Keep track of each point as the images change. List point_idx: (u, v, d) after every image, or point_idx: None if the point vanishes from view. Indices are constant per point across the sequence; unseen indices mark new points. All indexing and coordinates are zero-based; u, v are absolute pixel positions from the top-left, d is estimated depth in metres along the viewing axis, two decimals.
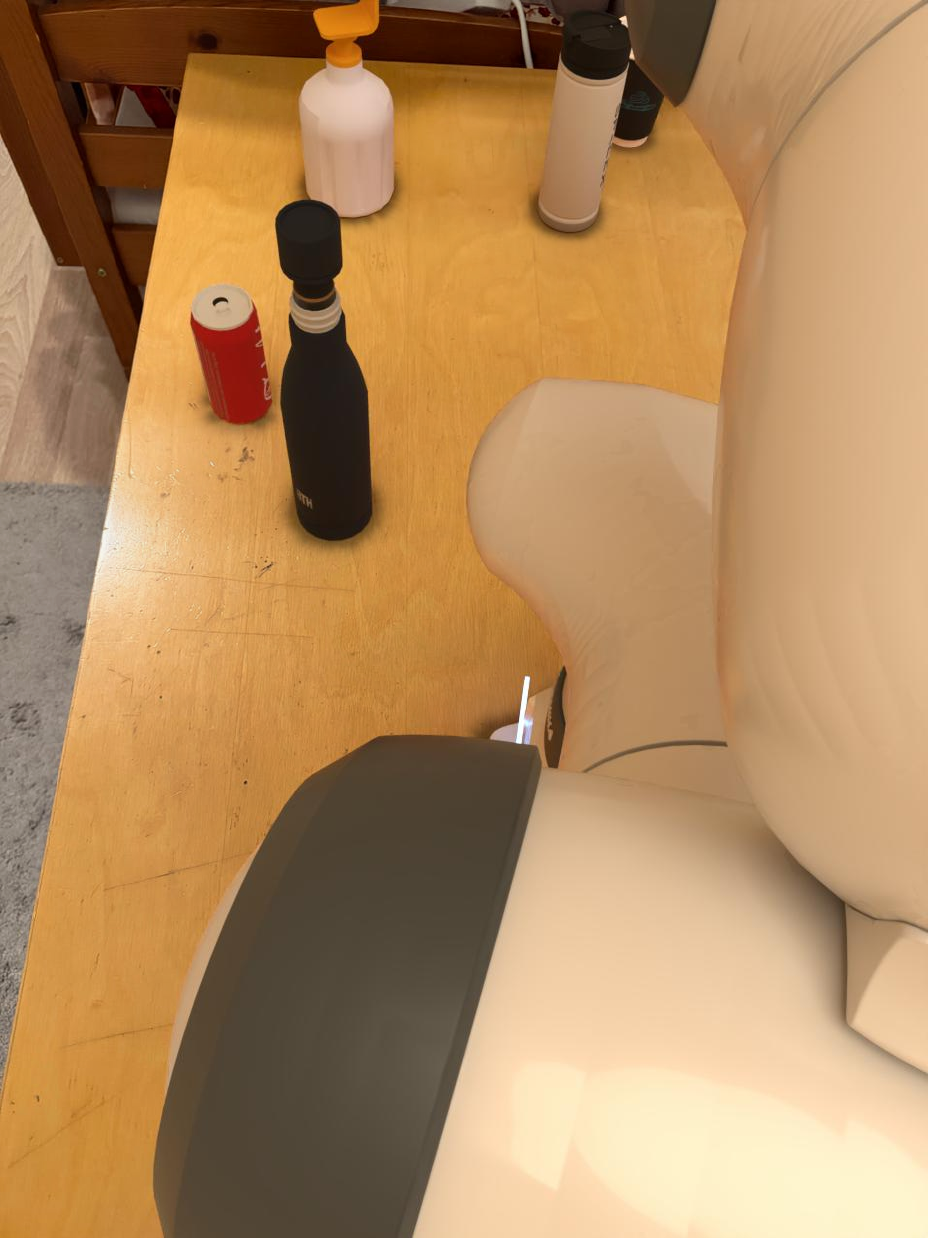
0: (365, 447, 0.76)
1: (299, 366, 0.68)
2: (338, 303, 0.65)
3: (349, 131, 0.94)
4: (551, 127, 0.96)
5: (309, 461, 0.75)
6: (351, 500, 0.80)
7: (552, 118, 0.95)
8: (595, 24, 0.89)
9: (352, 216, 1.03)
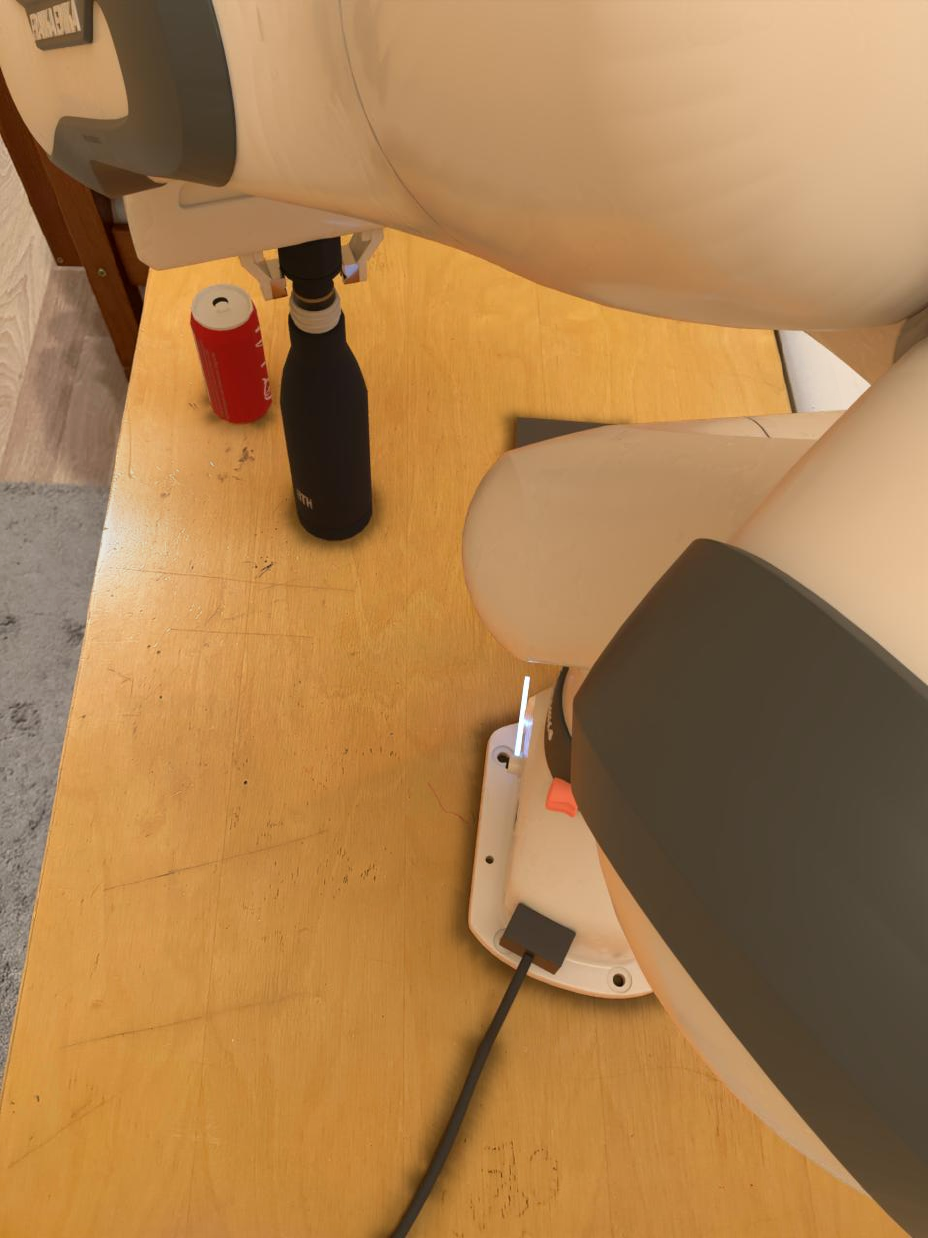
0: (365, 447, 0.76)
1: (298, 367, 0.68)
2: (338, 303, 0.65)
3: None
4: None
5: (309, 461, 0.75)
6: (351, 500, 0.80)
7: None
8: None
9: None
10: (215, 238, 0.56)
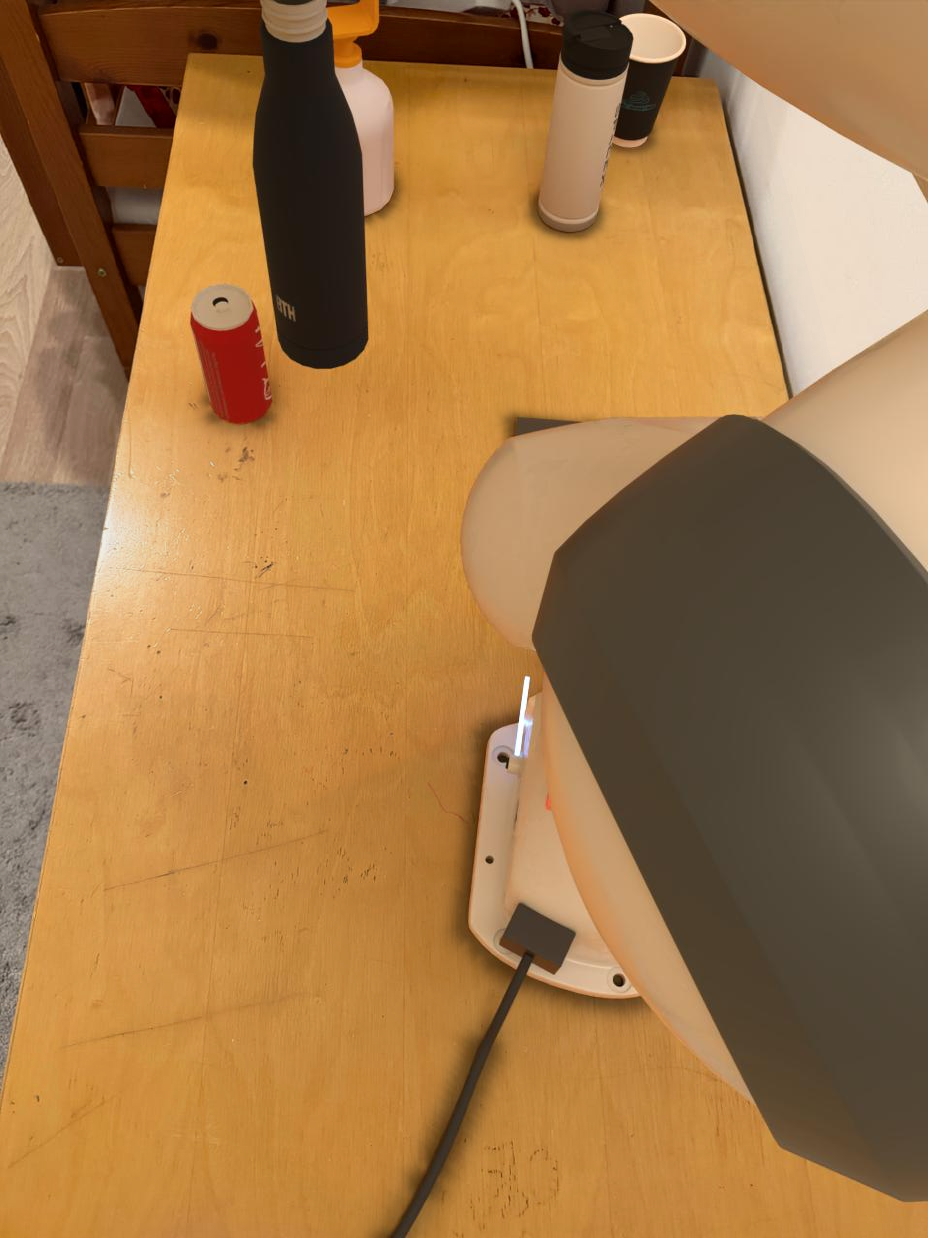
0: (359, 232, 0.62)
1: (274, 99, 0.54)
2: (323, 0, 0.51)
3: None
4: (551, 127, 0.96)
5: (289, 246, 0.61)
6: (343, 309, 0.66)
7: (552, 118, 0.95)
8: (595, 24, 0.89)
9: None
10: None
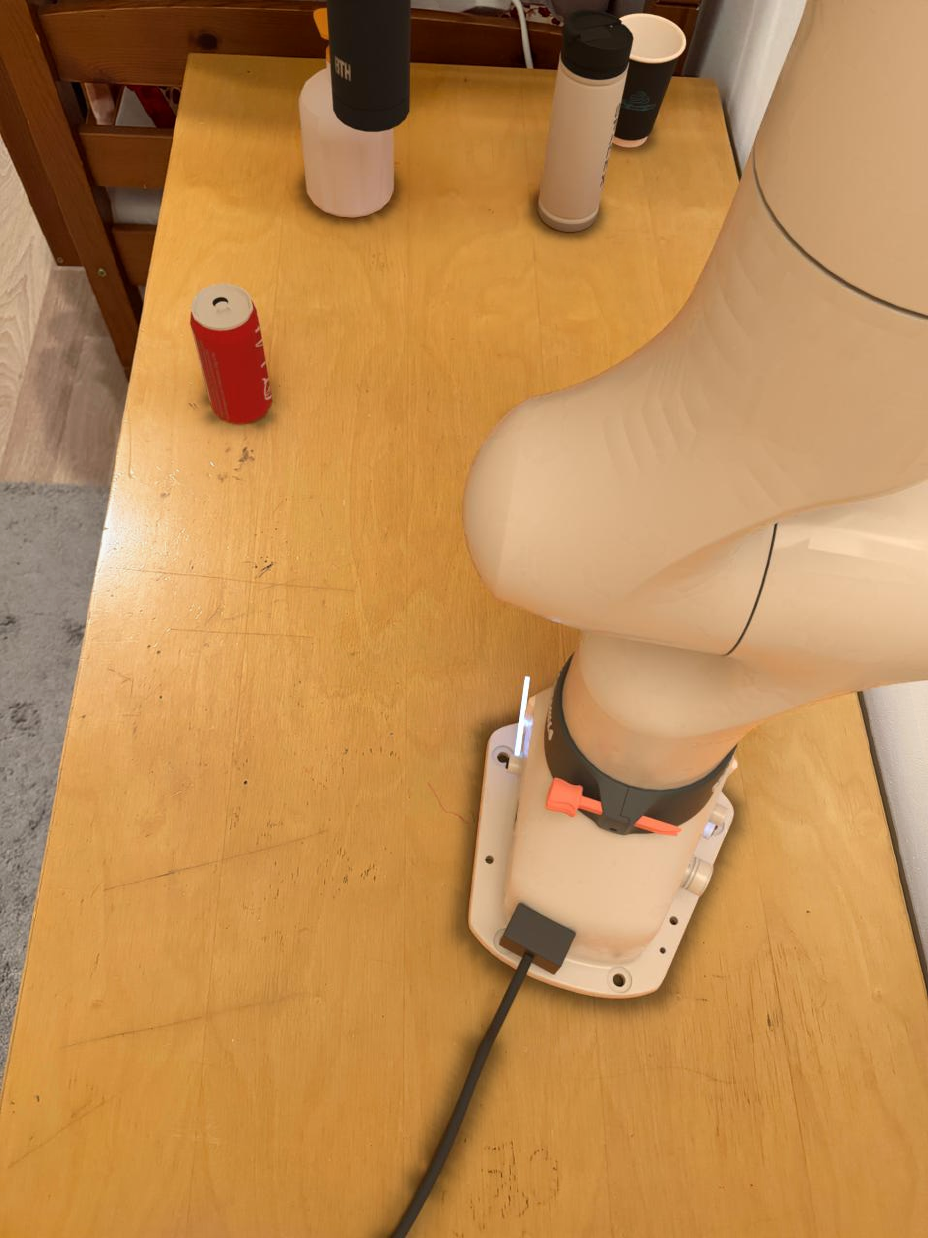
0: None
1: None
2: None
3: (349, 131, 0.94)
4: (551, 127, 0.96)
5: None
6: (390, 68, 0.78)
7: (552, 118, 0.95)
8: (595, 24, 0.89)
9: (352, 216, 1.03)
10: None
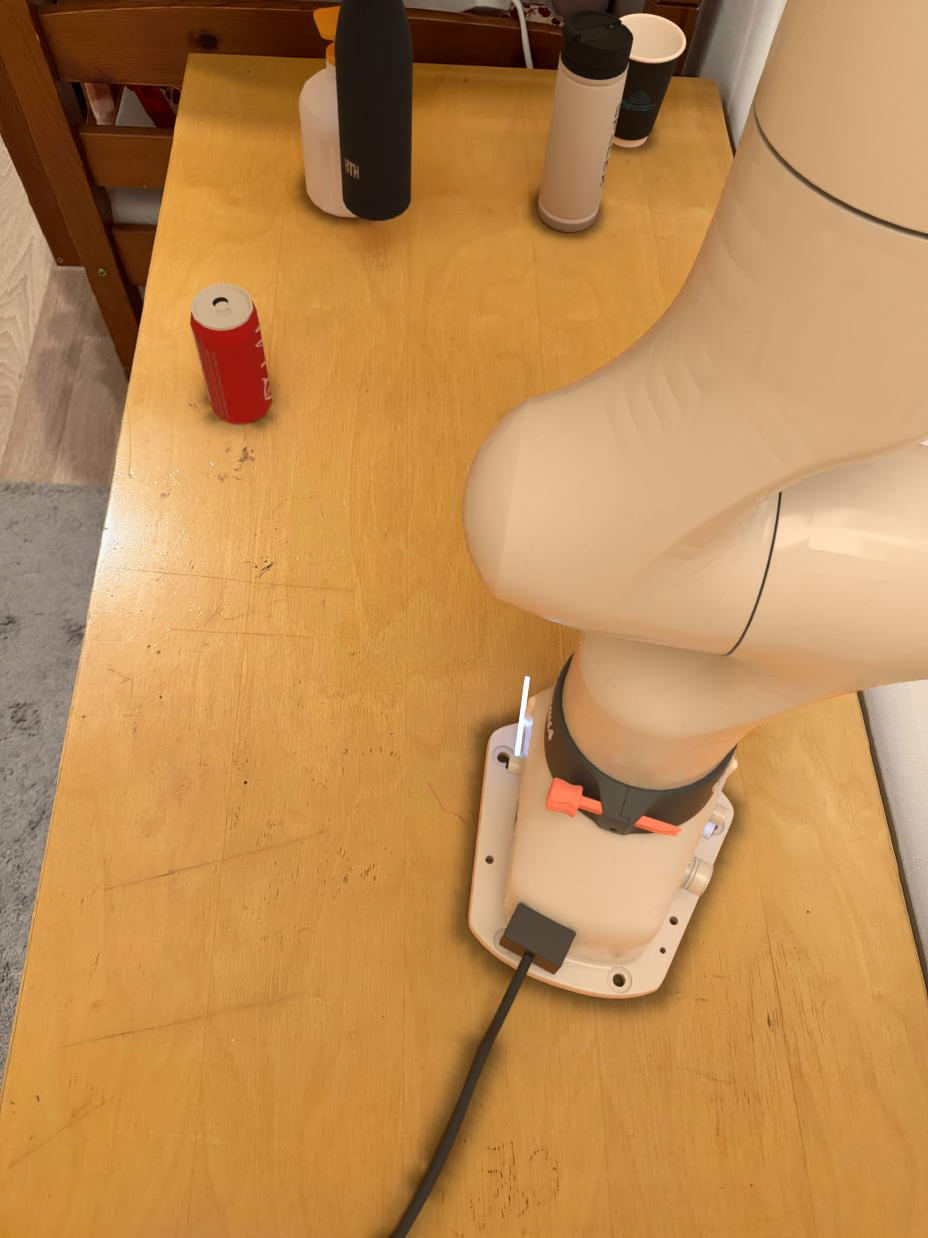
0: (409, 106, 0.85)
1: None
2: None
3: None
4: (551, 127, 0.96)
5: (359, 114, 0.84)
6: (394, 169, 0.89)
7: (552, 118, 0.95)
8: (595, 24, 0.89)
9: (352, 216, 1.03)
10: None
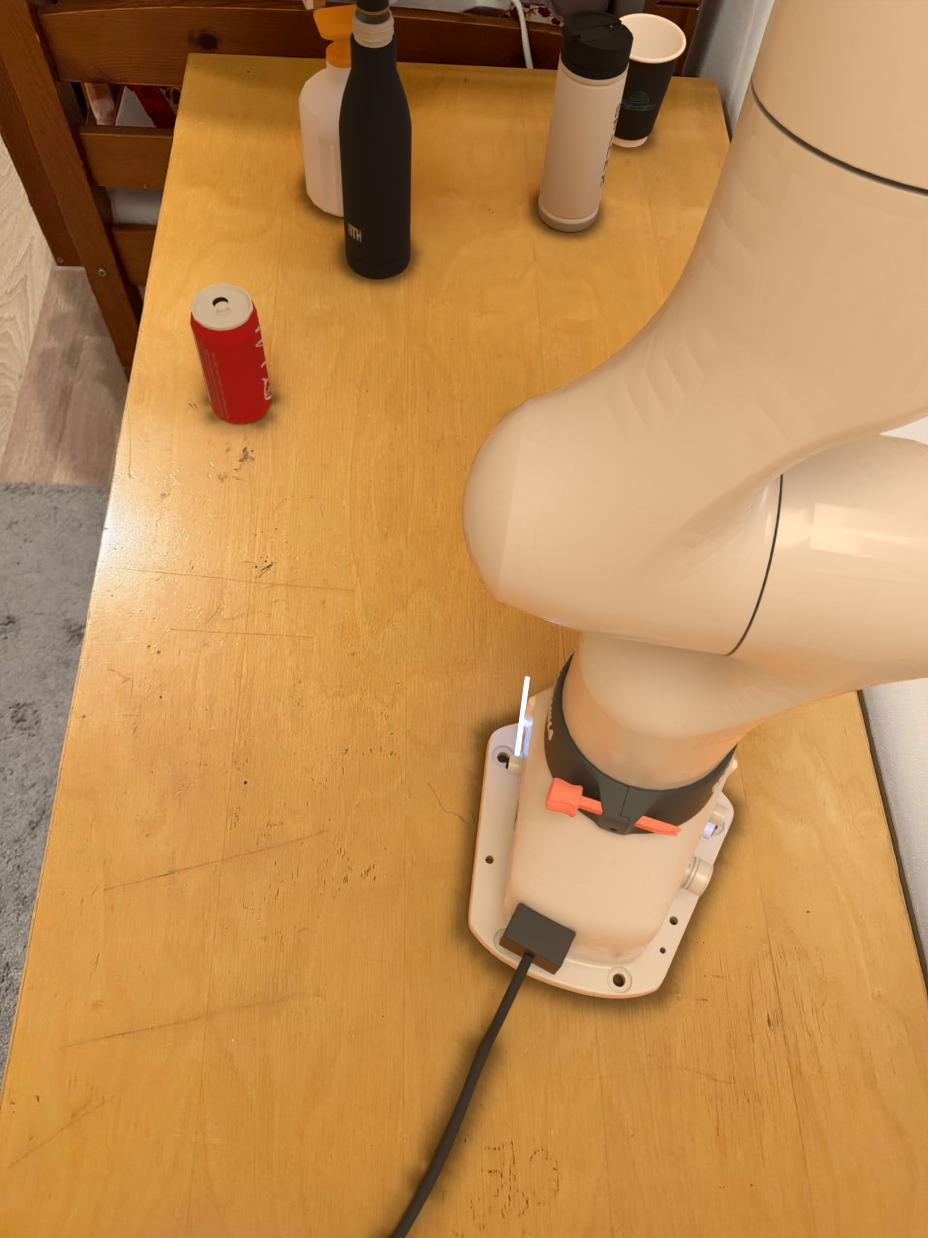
0: (408, 177, 0.91)
1: (357, 84, 0.83)
2: (391, 21, 0.80)
3: None
4: (551, 127, 0.96)
5: (361, 185, 0.90)
6: (394, 233, 0.95)
7: (552, 118, 0.95)
8: (595, 24, 0.89)
9: None
10: None
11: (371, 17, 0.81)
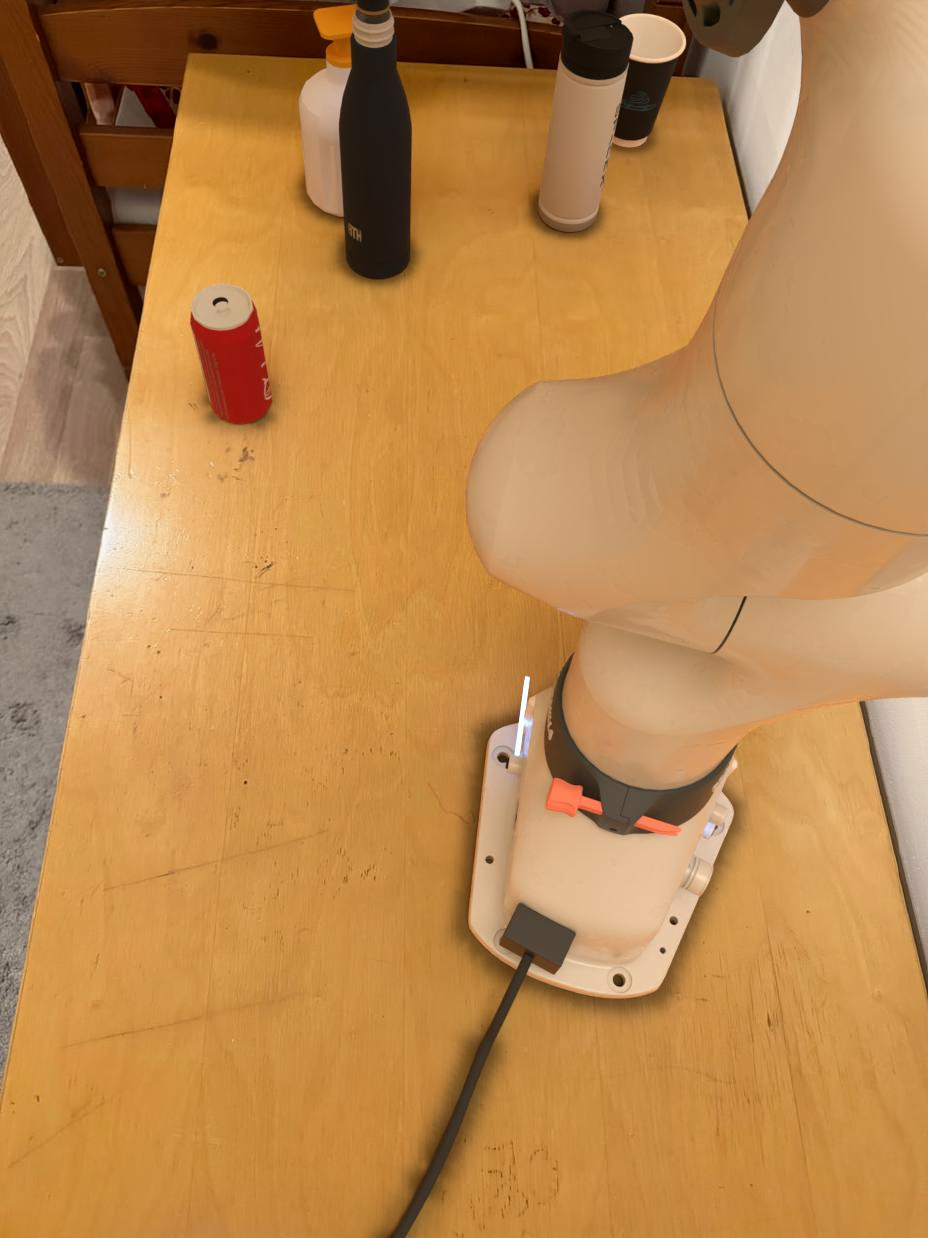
0: (408, 177, 0.91)
1: (357, 84, 0.83)
2: (392, 21, 0.80)
3: None
4: (551, 127, 0.96)
5: (361, 185, 0.90)
6: (394, 233, 0.95)
7: (552, 118, 0.95)
8: (595, 24, 0.89)
9: None
10: None
11: (371, 17, 0.81)
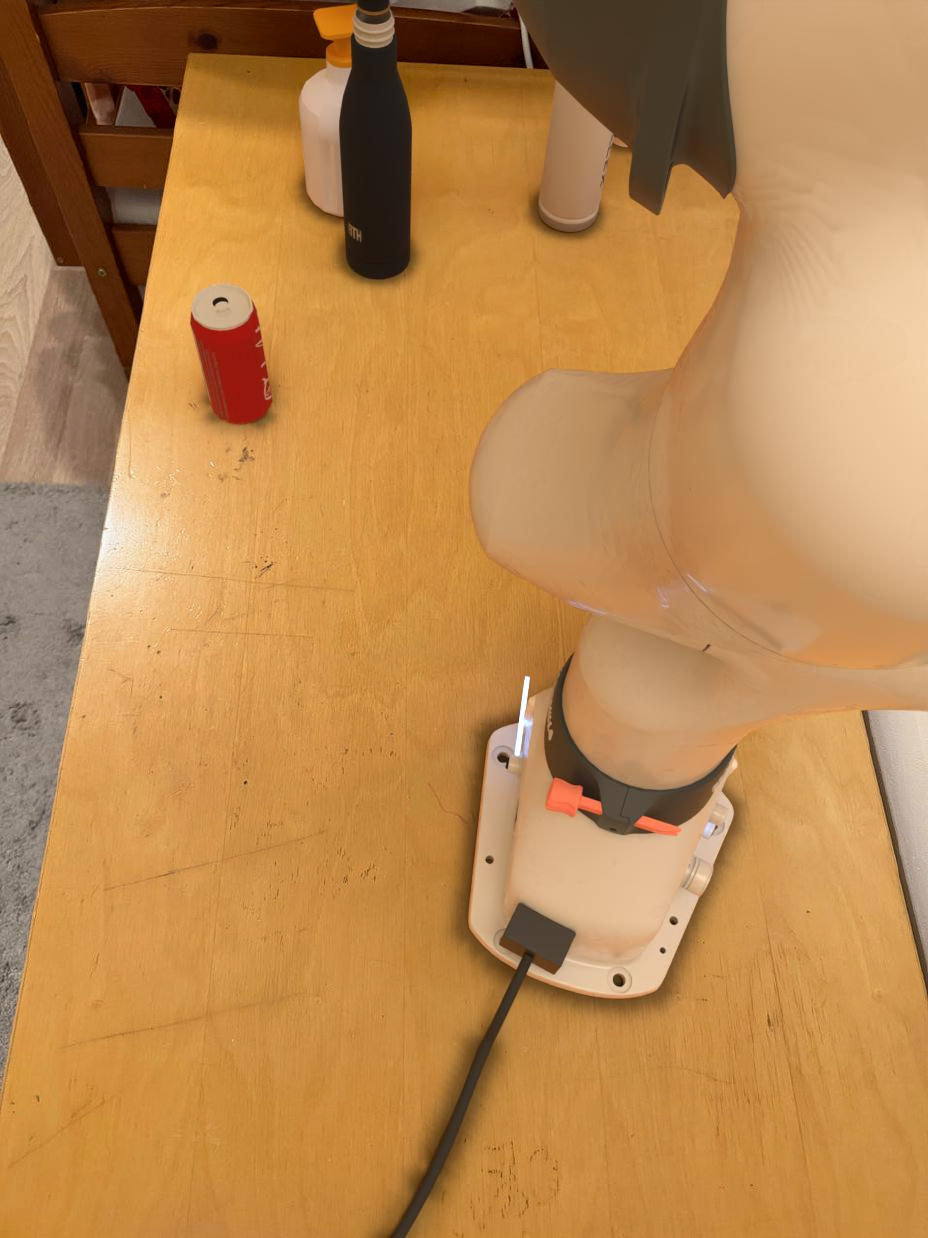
0: (408, 177, 0.91)
1: (358, 84, 0.83)
2: (392, 21, 0.80)
3: None
4: (551, 127, 0.96)
5: (361, 185, 0.90)
6: (394, 233, 0.95)
7: (552, 118, 0.95)
8: None
9: None
10: None
11: (372, 17, 0.81)
